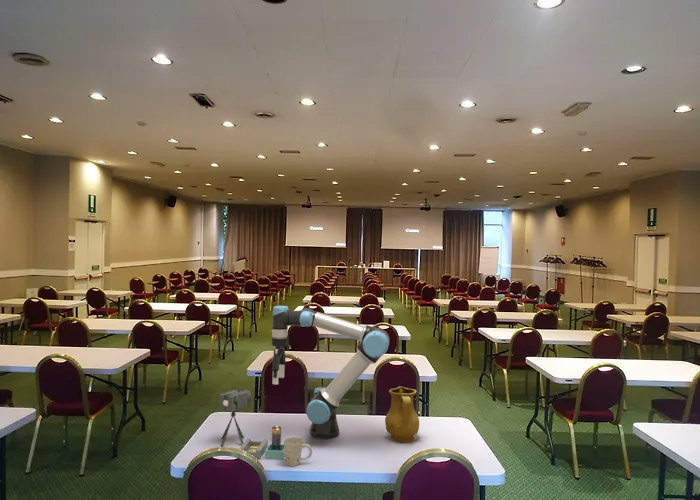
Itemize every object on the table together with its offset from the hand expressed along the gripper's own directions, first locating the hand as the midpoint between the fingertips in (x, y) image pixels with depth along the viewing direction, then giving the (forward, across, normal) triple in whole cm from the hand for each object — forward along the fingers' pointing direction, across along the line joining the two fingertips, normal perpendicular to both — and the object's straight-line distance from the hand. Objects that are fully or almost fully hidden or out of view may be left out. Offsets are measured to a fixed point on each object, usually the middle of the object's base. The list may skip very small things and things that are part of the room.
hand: (278, 380), depth 237 cm
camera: (+29, +5, -20) cm, 35 cm away
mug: (+29, +26, +15) cm, 42 cm away
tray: (+29, +19, +4) cm, 35 cm away
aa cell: (+28, +19, +4) cm, 34 cm away
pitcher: (+29, -10, +61) cm, 68 cm away
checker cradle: (+29, +17, -7) cm, 34 cm away
